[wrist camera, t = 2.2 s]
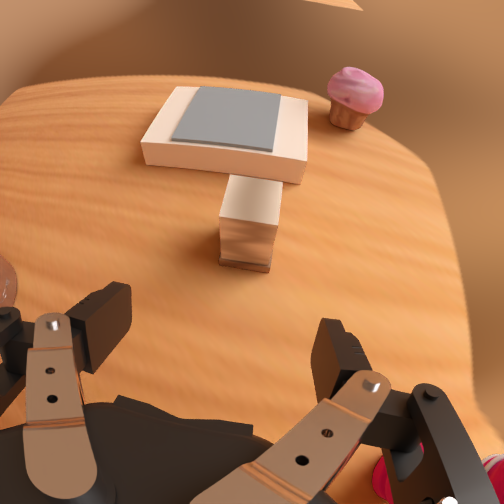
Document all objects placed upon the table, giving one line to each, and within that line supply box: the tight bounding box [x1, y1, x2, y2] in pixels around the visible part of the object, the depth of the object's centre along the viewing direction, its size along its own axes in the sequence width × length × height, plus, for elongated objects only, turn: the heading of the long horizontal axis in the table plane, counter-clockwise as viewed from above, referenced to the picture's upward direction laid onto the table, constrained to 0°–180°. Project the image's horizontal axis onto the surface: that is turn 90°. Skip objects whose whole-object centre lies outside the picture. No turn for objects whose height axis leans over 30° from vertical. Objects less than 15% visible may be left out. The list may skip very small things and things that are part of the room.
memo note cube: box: [219, 174, 283, 273], centre depth 28 cm, size 5×5×8 cm
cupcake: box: [328, 67, 384, 130], centre depth 39 cm, size 9×9×10 cm
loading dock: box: [140, 86, 308, 185], centre depth 38 cm, size 20×14×4 cm
